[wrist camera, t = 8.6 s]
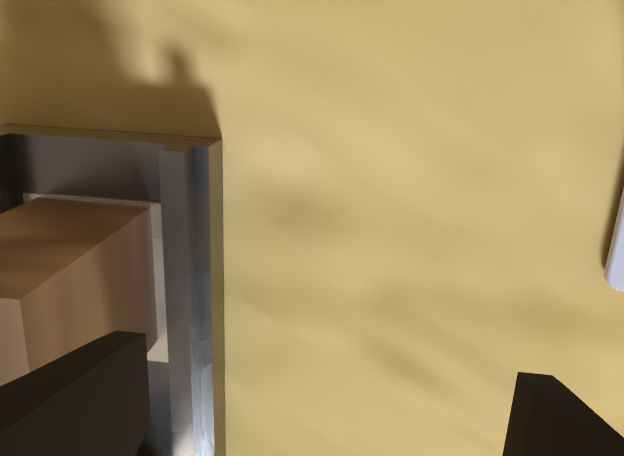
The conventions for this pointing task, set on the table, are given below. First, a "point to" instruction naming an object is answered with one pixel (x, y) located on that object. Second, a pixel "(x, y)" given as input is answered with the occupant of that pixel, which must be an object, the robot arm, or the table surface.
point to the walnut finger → (72, 279)
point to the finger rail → (166, 253)
